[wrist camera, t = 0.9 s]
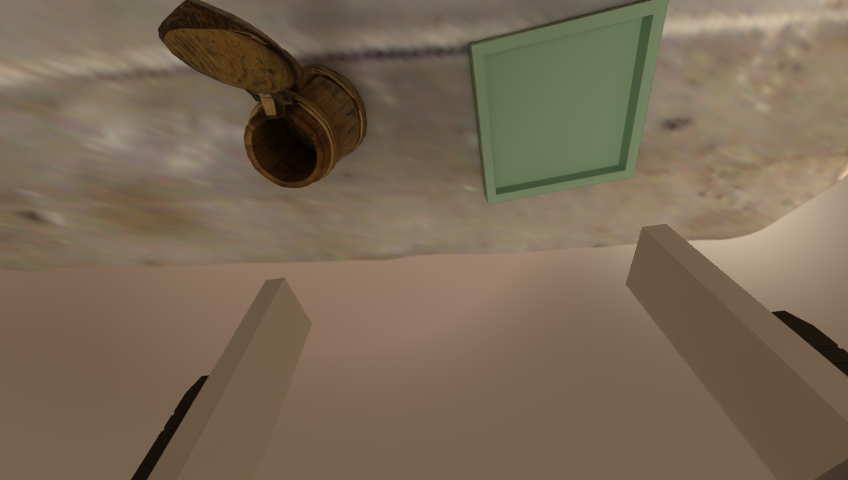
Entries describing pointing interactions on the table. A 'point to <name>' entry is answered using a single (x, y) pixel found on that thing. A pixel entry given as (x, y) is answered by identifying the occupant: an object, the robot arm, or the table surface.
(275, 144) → the wooden mug
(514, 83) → the green tray
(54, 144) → the table surface
